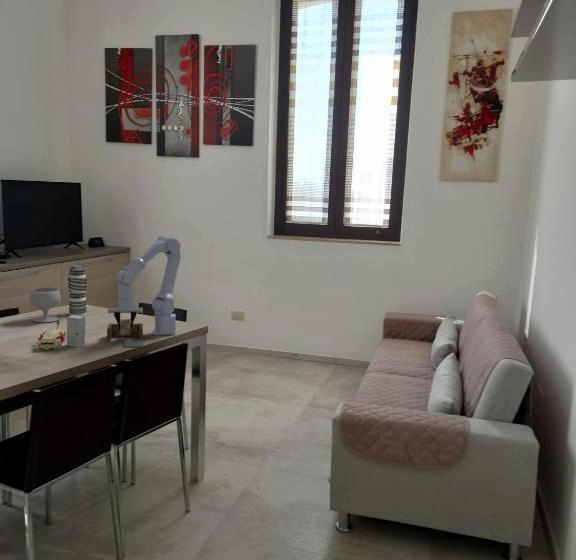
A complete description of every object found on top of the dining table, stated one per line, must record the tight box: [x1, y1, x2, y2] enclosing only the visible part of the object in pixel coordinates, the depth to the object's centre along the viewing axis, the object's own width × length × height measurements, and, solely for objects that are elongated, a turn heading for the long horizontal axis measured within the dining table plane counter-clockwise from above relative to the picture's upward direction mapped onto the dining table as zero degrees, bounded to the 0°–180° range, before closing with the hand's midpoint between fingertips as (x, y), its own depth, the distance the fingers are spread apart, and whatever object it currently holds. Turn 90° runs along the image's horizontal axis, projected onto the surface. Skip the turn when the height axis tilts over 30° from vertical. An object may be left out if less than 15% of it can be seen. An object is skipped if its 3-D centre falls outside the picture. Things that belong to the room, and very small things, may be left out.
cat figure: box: [36, 318, 67, 351], centre depth 229 cm, size 10×9×25 cm
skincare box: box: [66, 315, 86, 348], centre depth 226 cm, size 6×4×12 cm
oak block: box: [120, 318, 131, 335], centre depth 238 cm, size 4×4×6 cm
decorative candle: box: [67, 264, 88, 317], centre depth 280 cm, size 9×9×25 cm
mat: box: [123, 340, 145, 349], centre depth 231 cm, size 8×8×1 cm
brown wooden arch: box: [106, 322, 144, 343], centre depth 240 cm, size 14×10×6 cm
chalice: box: [28, 287, 62, 323], centre depth 265 cm, size 14×14×15 cm
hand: (125, 329), depth 239 cm, fingers closed on oak block, 4 cm apart
